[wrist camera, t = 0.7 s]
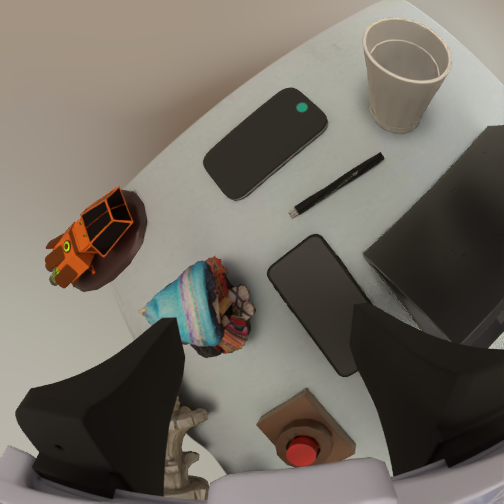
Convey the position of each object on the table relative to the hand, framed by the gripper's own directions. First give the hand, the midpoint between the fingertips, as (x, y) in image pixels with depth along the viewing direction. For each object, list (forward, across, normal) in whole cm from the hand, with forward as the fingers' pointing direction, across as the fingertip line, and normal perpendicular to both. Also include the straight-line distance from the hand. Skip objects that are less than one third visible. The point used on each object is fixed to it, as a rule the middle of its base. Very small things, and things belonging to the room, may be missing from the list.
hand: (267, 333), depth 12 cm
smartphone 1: (+27, -2, -8) cm, 28 cm away
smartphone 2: (+18, -8, +9) cm, 21 cm away
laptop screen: (+8, -19, -4) cm, 21 cm away
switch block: (+12, -5, +24) cm, 27 cm away
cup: (+23, -17, -12) cm, 31 cm away
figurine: (+21, +3, +9) cm, 23 cm away
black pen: (+22, -9, -3) cm, 24 cm away
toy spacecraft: (+30, +23, +4) cm, 38 cm away
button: (+9, -4, +22) cm, 25 cm away
